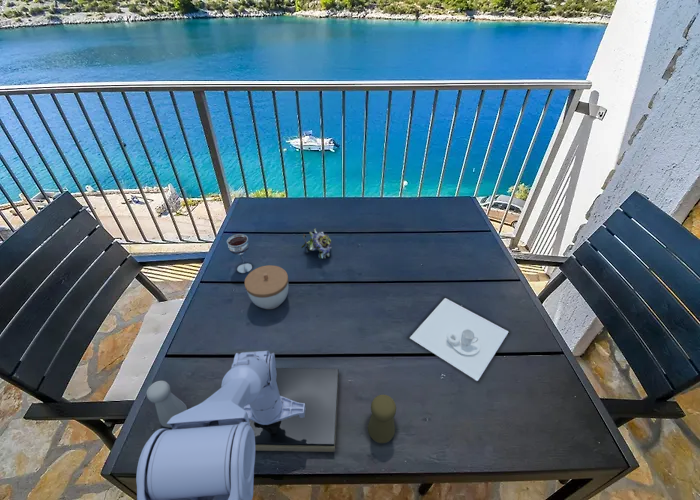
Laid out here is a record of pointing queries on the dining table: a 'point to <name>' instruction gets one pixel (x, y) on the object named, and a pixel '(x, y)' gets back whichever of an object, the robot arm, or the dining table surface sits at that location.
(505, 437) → the dining table surface
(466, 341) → the teacup and saucer
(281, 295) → the lidded bowl
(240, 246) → the wineglass
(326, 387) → the panel
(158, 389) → the salt shaker
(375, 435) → the olive peanut shape
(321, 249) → the passion flower
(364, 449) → the dining table surface
